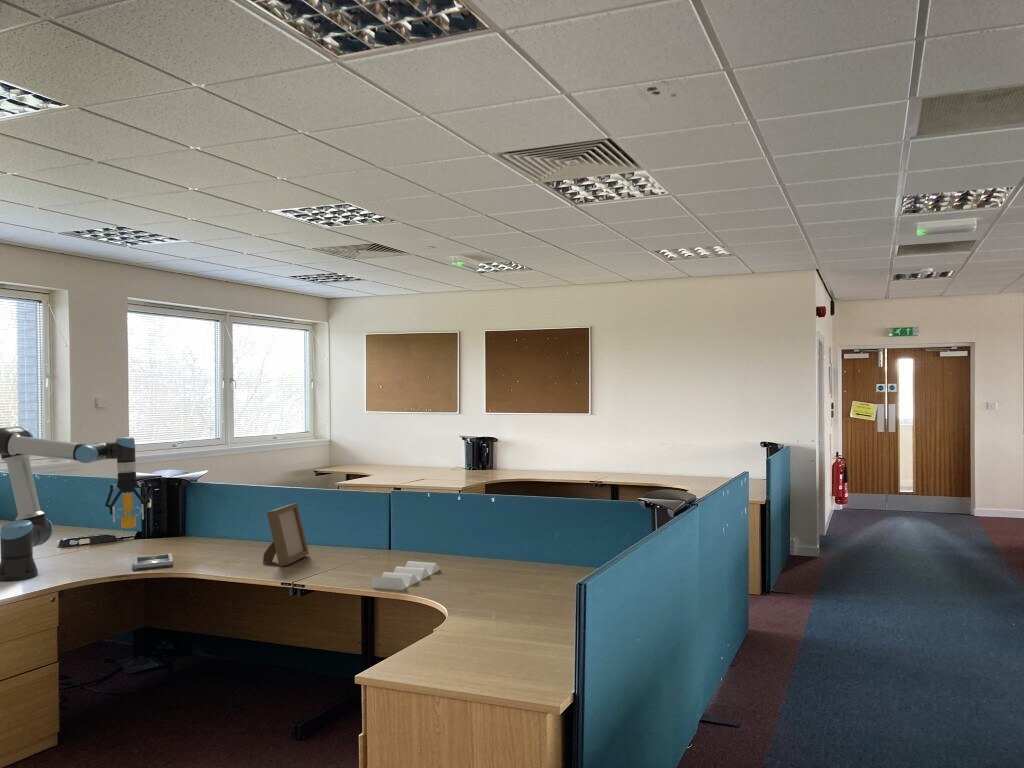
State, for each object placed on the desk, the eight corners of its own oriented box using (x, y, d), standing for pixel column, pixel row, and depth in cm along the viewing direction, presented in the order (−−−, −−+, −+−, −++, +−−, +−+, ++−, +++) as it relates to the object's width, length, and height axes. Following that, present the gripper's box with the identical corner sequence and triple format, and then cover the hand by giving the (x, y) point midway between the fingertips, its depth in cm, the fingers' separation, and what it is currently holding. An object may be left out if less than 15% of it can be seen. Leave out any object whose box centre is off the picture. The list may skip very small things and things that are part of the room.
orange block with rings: (148, 524, 357) (147, 491, 357) (134, 529, 347) (133, 495, 347) (123, 525, 359) (121, 492, 359) (108, 529, 348) (107, 495, 348)
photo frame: (309, 556, 369) (308, 503, 369) (288, 566, 347) (287, 510, 347) (279, 555, 371) (278, 502, 371) (257, 566, 350) (256, 510, 350)
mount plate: (133, 570, 345) (133, 564, 345) (133, 562, 361) (133, 557, 361) (173, 566, 352) (173, 560, 352) (171, 558, 368) (171, 553, 368)
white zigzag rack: (440, 571, 337) (440, 559, 337) (402, 591, 304) (401, 578, 304) (413, 569, 342) (413, 557, 342) (372, 589, 309) (372, 576, 309)
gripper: (96, 474, 345) (98, 524, 345) (155, 470, 354) (157, 518, 354) (97, 473, 351) (99, 522, 351) (155, 468, 361) (157, 516, 361)
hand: (128, 520), depth 353 cm, fingers closed on orange block with rings, 11 cm apart
